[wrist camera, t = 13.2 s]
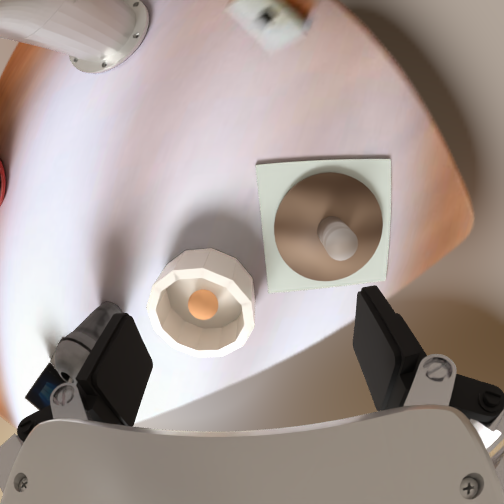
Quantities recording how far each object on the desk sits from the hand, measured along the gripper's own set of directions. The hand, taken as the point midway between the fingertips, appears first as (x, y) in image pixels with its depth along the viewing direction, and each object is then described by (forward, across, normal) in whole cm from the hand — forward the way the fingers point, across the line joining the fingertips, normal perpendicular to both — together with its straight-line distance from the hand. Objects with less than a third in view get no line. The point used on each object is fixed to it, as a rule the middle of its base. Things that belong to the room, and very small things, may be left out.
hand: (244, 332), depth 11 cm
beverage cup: (+25, +25, +15) cm, 38 cm away
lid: (+24, -9, +5) cm, 26 cm away
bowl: (+24, +8, +13) cm, 29 cm away
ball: (+22, +8, +13) cm, 26 cm away
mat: (+24, -10, +5) cm, 27 cm away
